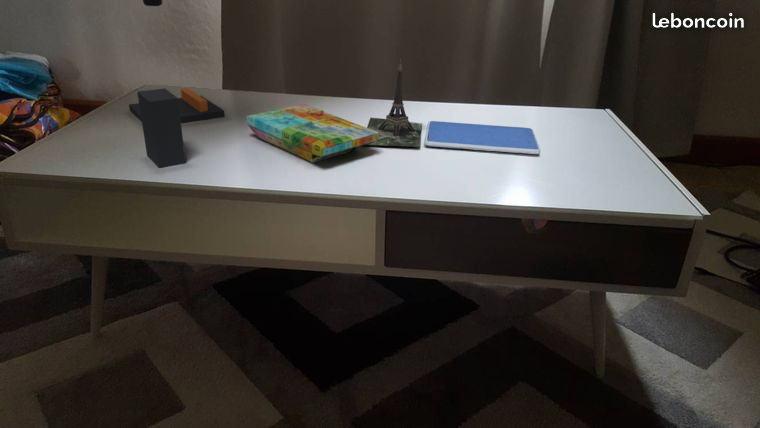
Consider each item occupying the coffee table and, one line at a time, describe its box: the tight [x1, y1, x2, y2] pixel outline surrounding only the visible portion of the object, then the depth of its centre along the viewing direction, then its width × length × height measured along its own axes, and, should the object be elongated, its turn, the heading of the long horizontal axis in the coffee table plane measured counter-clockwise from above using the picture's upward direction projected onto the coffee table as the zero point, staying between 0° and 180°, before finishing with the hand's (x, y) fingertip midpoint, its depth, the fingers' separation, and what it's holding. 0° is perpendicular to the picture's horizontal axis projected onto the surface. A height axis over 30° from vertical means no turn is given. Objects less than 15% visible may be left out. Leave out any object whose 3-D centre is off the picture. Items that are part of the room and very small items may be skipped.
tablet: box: [423, 120, 541, 155], centre depth 100 cm, size 19×13×1 cm, turn 83°
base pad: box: [128, 87, 226, 124], centre depth 107 cm, size 14×12×3 cm
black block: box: [136, 88, 187, 169], centre depth 85 cm, size 4×6×10 cm, turn 36°
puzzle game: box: [245, 103, 380, 163], centre depth 94 cm, size 12×5×20 cm
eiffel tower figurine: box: [362, 58, 423, 148], centre depth 99 cm, size 15×10×13 cm
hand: (162, 1), depth 77 cm, fingers open, 8 cm apart
